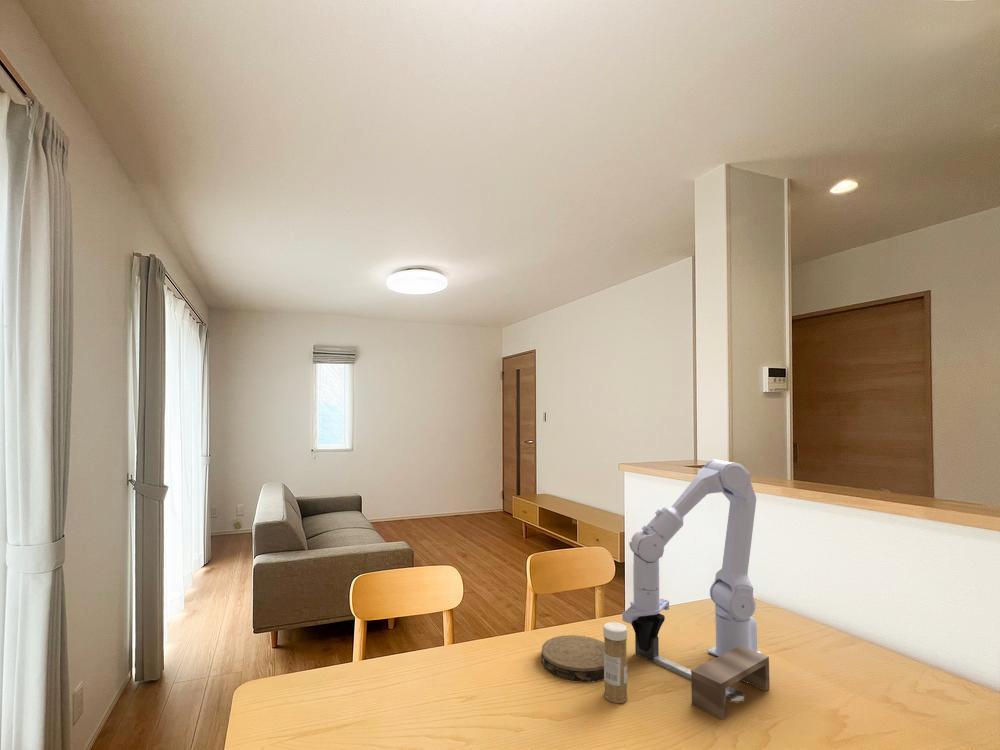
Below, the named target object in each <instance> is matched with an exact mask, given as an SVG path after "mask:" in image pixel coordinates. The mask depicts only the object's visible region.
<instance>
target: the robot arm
mask: <svg viewBox="0 0 1000 750" xmlns="http://www.w3.org/2000/svg"><path fill="white" fill-rule="evenodd" d="M717 493H722V494H723V495H724V496H725V497H726V498H727V500H728V501H729V508H728V516H727V517H728V518H727V525H726V532H725V540H724V549H723V557H722V567H721V568H720V569H719V570H718V571H716V573H715V578H714V581H712V584H711V586H710V588H709V596H710V599H711V601H712V602H713V603H714V605H715V606H714V607H715V608H714V610H715V611H714V612H715V614H714V615H715V617H714V618H715V621H714V622H715V646H714V647H712V648H709V649H708V650H707V652H708V653H709V654H711V655H713V656H716V657H719V656H721V655H723V654H725V653H727V652H729V651H730V650H732V649H734V648H736V647H738V646H742V647H745V648H747V649H750V650H753V651H755V652H758V653H761V654H762V652H761V651H760V650H758V625H757V622H756V620H755V618H754V616H753V615H754V614H755V612H756V601H755V599H754V586H753V584H752V582H751V580H750V578H749V565H750V556H751V548H752V541H753V540H752V538H753V532H754V531H753V530H754V522H755V514H756V505H757V495H756V493H755V489H754V487H753V485H752V474H751V473H750V471H748V470H747V469H746V467H745V466H743V465H742V464H741V463H738V462H731V461H730V462H729V461H726V460H725V461H724V460H722V459H718V458H717V459H716V458H713V459H710V460H709V461H707V462H706V463H705V465H704V466H703V467H701V468H700V469H699V470H698V472H697V474H696V476H695V477H694V478H693V480H692V481H691V482H690V483H689V484H688V486H687V487H686V489H685V490H684V491H683V492H682V494H681V495H680V496H679V497H678V498H677V499H676V501H675V502H674V503H673V504H672V505H671V506H670V507H669V506H667V507H663V508H661V509H658V508H657V510H656V511H655V513H654V514H655V516H654V517H652V519H651V520H650V521H649V522H648V523H647V525H644V526H642V527H641V531H637V532H636V533H634V534H633V535H632V537H631V541H630V542H629V543H628V545H629V548H630V550H631V552H632V553H633V564H632V565H633V566H632V567H633V568H632V569H633V572H632V573H633V574H632V575H633V578H632V580H633V582H632V583H633V600H632V601H630V604H629V605H630V606H629V607H628V608H627V609H626V610H625V611H622V619H621V620H622V622H624V623H627V624H629V625H631V626H632V628H633V631H634V635H635V634H636V638H637V641H638V646H639V649H642V650H644V651H648V649H649V640H650V634H653V635H655V636H657V637H659V632H660V630H661V627H662V625H663V624H664V622H665V619H666V618H665V617H666V616H665V615H664V614H662V613H661V612H662V611H663V610H664V611H668V610H670V601H669V600H667V599H664V598H660V558H663V555H664V554H665V553H664V552H665V546H666V545H667V544H668V543H669V542H670V540H672V539H673V537H674V536H675V535H676V534H677V533H678V532H679V531H680V530H681V529H682V527H683V526H684V517H686V515H687V514H688V513H690V511H691V510H692V509H694V508H695V507H696V506H697V505H698V504H699V503H700V502H701V501H702V500H703V499H704V498H705V497H706V496H707V495H710V494H717Z"/></svg>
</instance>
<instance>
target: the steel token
mask: <svg viewBox="0 0 1000 750" xmlns="http://www.w3.org/2000/svg"><path fill="white" fill-rule="evenodd" d="M727 700H728V701H727ZM743 700H744V701H745V694H744V692H743V691H741V690H739V689H738V688H735V687H732V686H728V687H727V688H726V701H727V702H729V701H733V702H741V703H743V702H744V701H743ZM742 701H743V702H742ZM733 702H732V703H733Z"/></svg>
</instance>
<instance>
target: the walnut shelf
mask: <svg viewBox="0 0 1000 750" xmlns="http://www.w3.org/2000/svg"><path fill="white" fill-rule="evenodd" d="M690 670H691V680H690V682H691V683H690V685H691V686H690V687H691V689H690V690H691V705H692V706H693V707H696V708H698V709H700V710H702V711H704V712H706V713H707V714H709V715H712V716H713V717H715V718H717V719H719V720H723V719H725V718H726V717H727V709H726V708H727V705H726V704H727V700H726V688H727V687H731V686H732V685H733V684H735V683H738V681H742V682H744V681H745V682H744V683H747V682H748V683H747V684H749V683H750V684H749V685H751V684H752V685H751V686H753V685H754V687H756V686H757V687H756V688H758V687H759V688H758V689H760V688H762V689H761V690H763V689H764V690H763V691H765V690H767V691H768V690H769V688H771V687H770V656H768V655H765V654H763V653H762V652H761V653H758V652H755V651H753V650H750V649H747V648H745V647H742V646H738V647H736V648H734V649H732V650H730V651H729V652H727V653H725V654H723V655H721V656H719V657H718V656H716V657H715V658H713V659H710V660H709V661H707V662H705V663H703V664H701V665H699V666H696V667H695V668H693V669H690Z"/></svg>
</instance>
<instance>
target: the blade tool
mask: <svg viewBox="0 0 1000 750" xmlns="http://www.w3.org/2000/svg"><path fill="white" fill-rule="evenodd" d="M634 635H635V637H634V638H635V640H634V641H635V642H634V645H635V647H634V649H635V650H634V651H635V653H636V654H635V653H634V654H635V655H637V654H638V655H637V656H639V655H640V656H639V657H641V656H642V657H641V658H643V657H644V658H643V659H646V658H647V659H646V660H648V661H650V660H651V661H650V662H652V661H653V662H652V663H654V662H655V663H654V664H656V663H657V665H658V664H659V666H661V667H663V668H665V669H668V670H669V671H672V672H673V673H675V674H678V675H680V676H682V677H684V678H686V679H688V680H690V681H691V670H692V669H690V668H687V667H685V666H683V665H681V664H679V663H677V662H675V661H673V660H671V659H670V660H669V659H667V658H665V657H663V656H661V655H659V651H660V650H659V649H660V648H659V647H660V646H659V643H660V642H659V636H655V635H653V634H650V640H649V649H648V651H644V650H642V649H639V646H638V641H637V638H636V634H635V633H634Z"/></svg>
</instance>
